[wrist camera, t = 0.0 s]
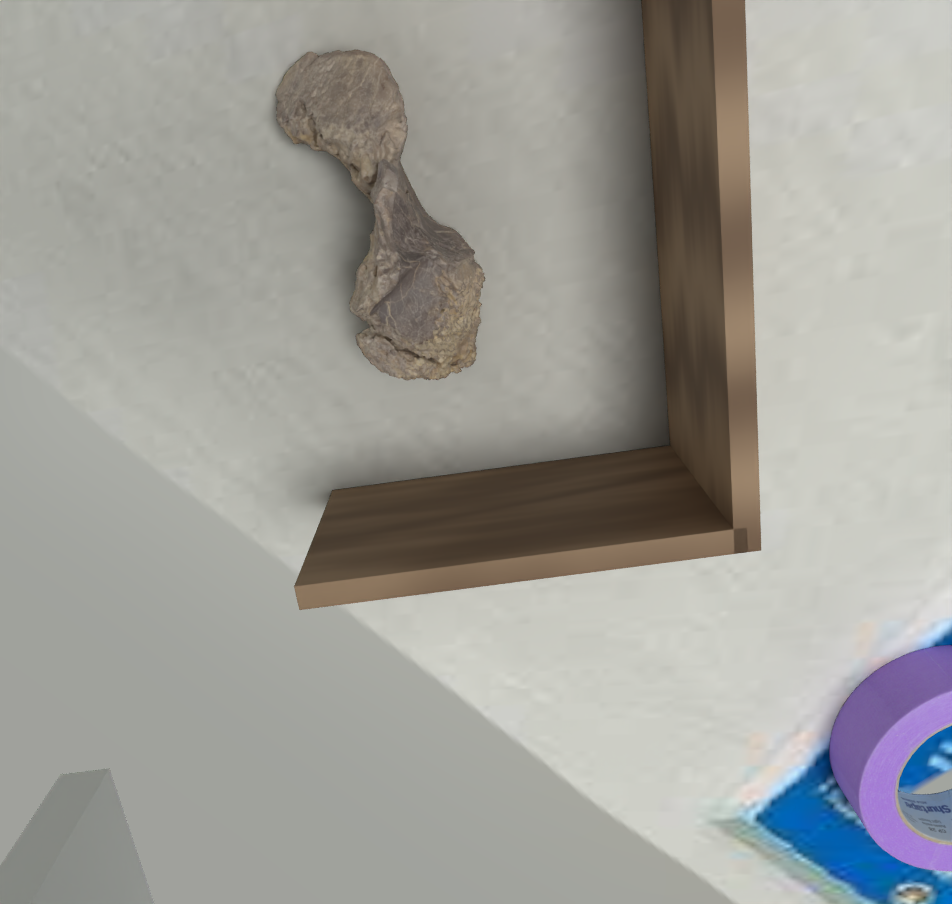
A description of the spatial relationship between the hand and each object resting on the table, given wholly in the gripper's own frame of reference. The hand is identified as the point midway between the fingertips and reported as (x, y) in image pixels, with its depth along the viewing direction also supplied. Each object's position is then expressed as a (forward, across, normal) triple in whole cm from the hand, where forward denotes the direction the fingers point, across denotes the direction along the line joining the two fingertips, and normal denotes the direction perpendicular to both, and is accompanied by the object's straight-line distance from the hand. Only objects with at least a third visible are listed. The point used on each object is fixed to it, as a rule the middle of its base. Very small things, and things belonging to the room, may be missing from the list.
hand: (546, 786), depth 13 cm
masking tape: (+28, +22, -24) cm, 43 cm away
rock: (+28, -4, +7) cm, 30 cm away
